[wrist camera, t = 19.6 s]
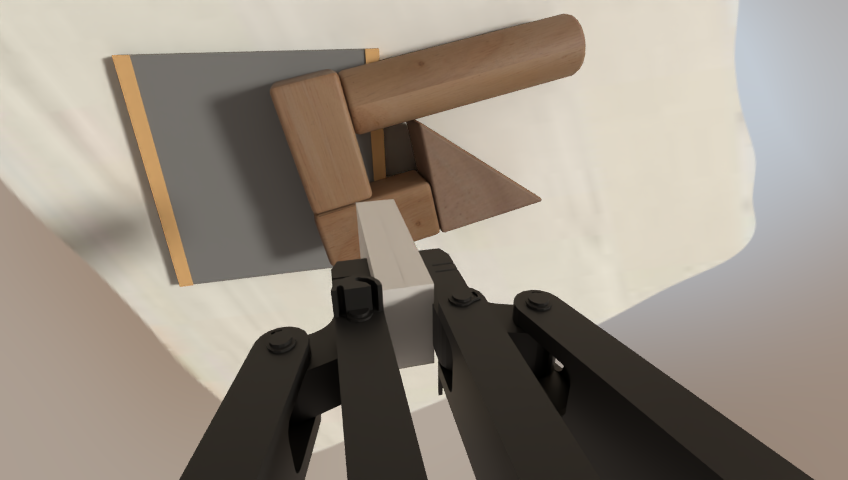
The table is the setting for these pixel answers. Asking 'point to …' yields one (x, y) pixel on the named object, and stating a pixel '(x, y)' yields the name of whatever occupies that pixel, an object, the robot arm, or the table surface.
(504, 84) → the wooden block assembly
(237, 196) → the mat
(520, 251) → the table surface
